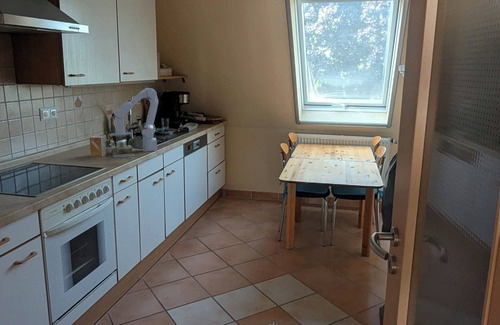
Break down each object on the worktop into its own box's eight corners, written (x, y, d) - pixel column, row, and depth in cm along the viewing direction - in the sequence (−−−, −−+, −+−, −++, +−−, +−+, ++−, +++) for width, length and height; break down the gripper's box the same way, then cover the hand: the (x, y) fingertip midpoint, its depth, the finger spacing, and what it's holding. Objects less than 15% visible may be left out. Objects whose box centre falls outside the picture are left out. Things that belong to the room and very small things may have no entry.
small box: (90, 156, 273) (89, 137, 270) (95, 154, 280) (93, 135, 277) (102, 156, 272) (100, 137, 270) (106, 154, 279) (105, 135, 276)
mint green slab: (130, 146, 290) (130, 141, 289) (132, 148, 283) (131, 142, 282) (111, 147, 285) (110, 142, 284) (112, 149, 278) (112, 144, 277)
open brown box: (130, 150, 292) (130, 144, 291) (132, 153, 282) (132, 147, 281) (111, 152, 287) (111, 145, 286) (113, 155, 277) (112, 148, 276)
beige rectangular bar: (113, 142, 299) (113, 139, 299) (115, 144, 288) (115, 142, 288) (110, 142, 298) (110, 140, 298) (112, 145, 288) (112, 142, 287)
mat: (133, 153, 282) (133, 153, 282) (135, 156, 274) (135, 155, 274) (112, 155, 277) (112, 154, 277) (113, 158, 269) (113, 157, 269)
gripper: (130, 125, 287) (131, 144, 290) (108, 126, 281) (110, 146, 284) (131, 126, 281) (133, 146, 284) (109, 127, 275) (111, 147, 278)
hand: (121, 146), depth 284 cm, fingers open, 7 cm apart
